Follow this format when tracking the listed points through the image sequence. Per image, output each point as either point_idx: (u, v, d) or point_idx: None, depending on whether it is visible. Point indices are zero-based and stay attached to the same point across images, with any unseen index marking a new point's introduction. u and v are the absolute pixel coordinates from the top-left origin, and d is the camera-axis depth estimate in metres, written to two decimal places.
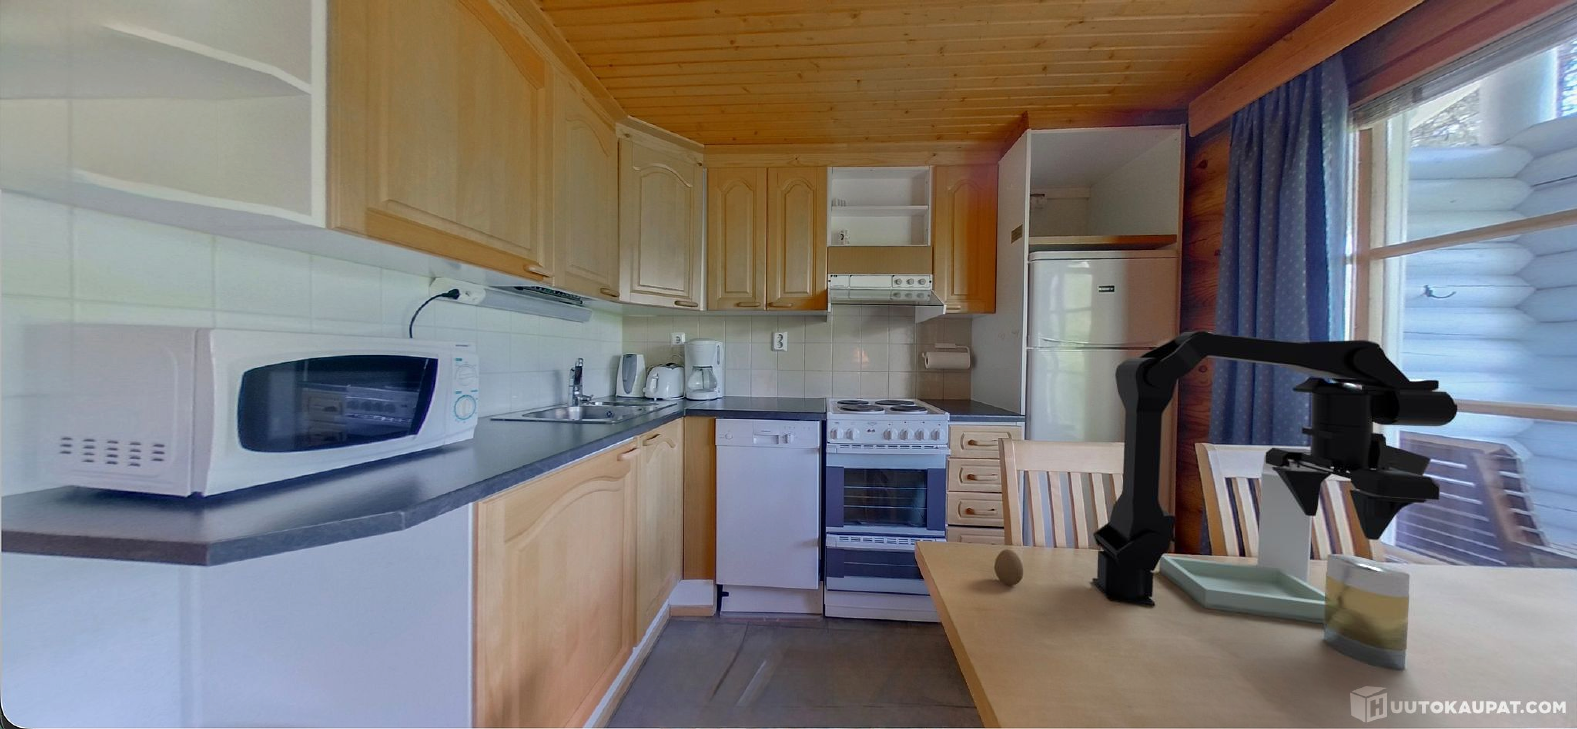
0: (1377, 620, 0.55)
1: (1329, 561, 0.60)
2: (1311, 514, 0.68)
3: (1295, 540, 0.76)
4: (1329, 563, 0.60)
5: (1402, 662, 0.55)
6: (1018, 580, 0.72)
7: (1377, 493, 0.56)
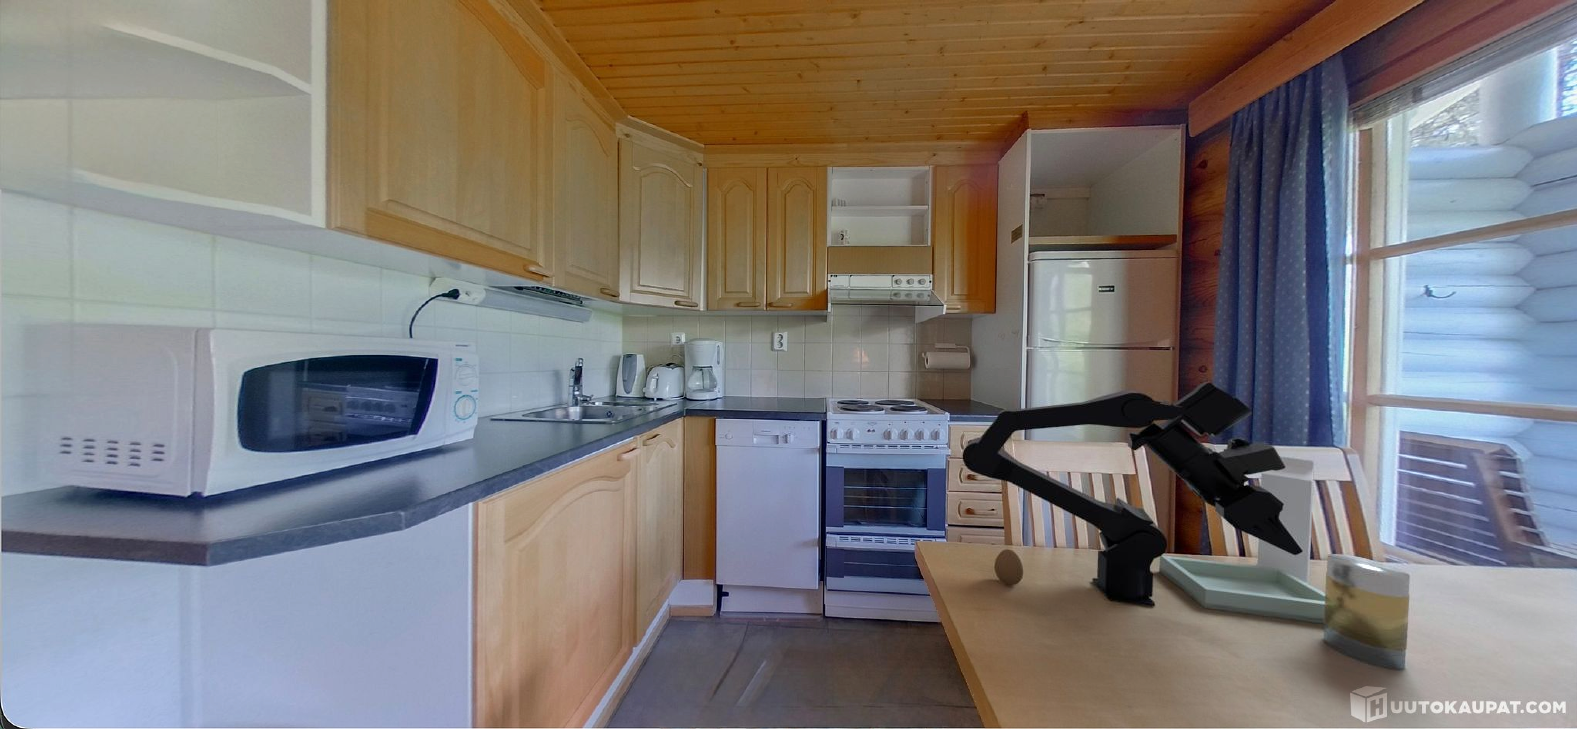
0: (1377, 620, 0.55)
1: (1329, 561, 0.60)
2: None
3: (1295, 540, 0.76)
4: (1329, 563, 0.60)
5: (1402, 662, 0.55)
6: (1018, 580, 0.72)
7: (1235, 527, 0.58)
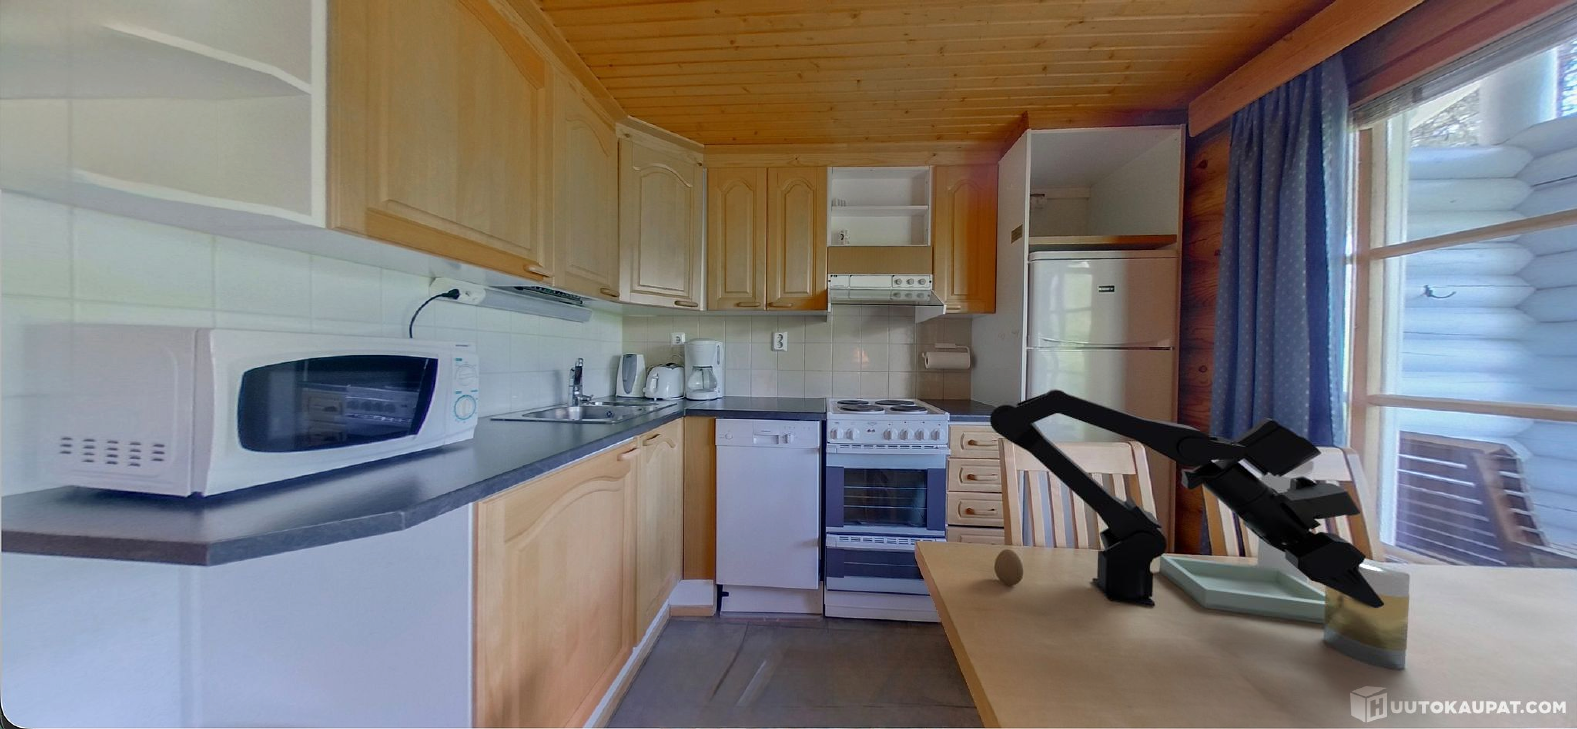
0: (1377, 620, 0.55)
1: None
2: None
3: None
4: None
5: (1402, 662, 0.55)
6: (1018, 580, 0.72)
7: (1311, 579, 0.54)
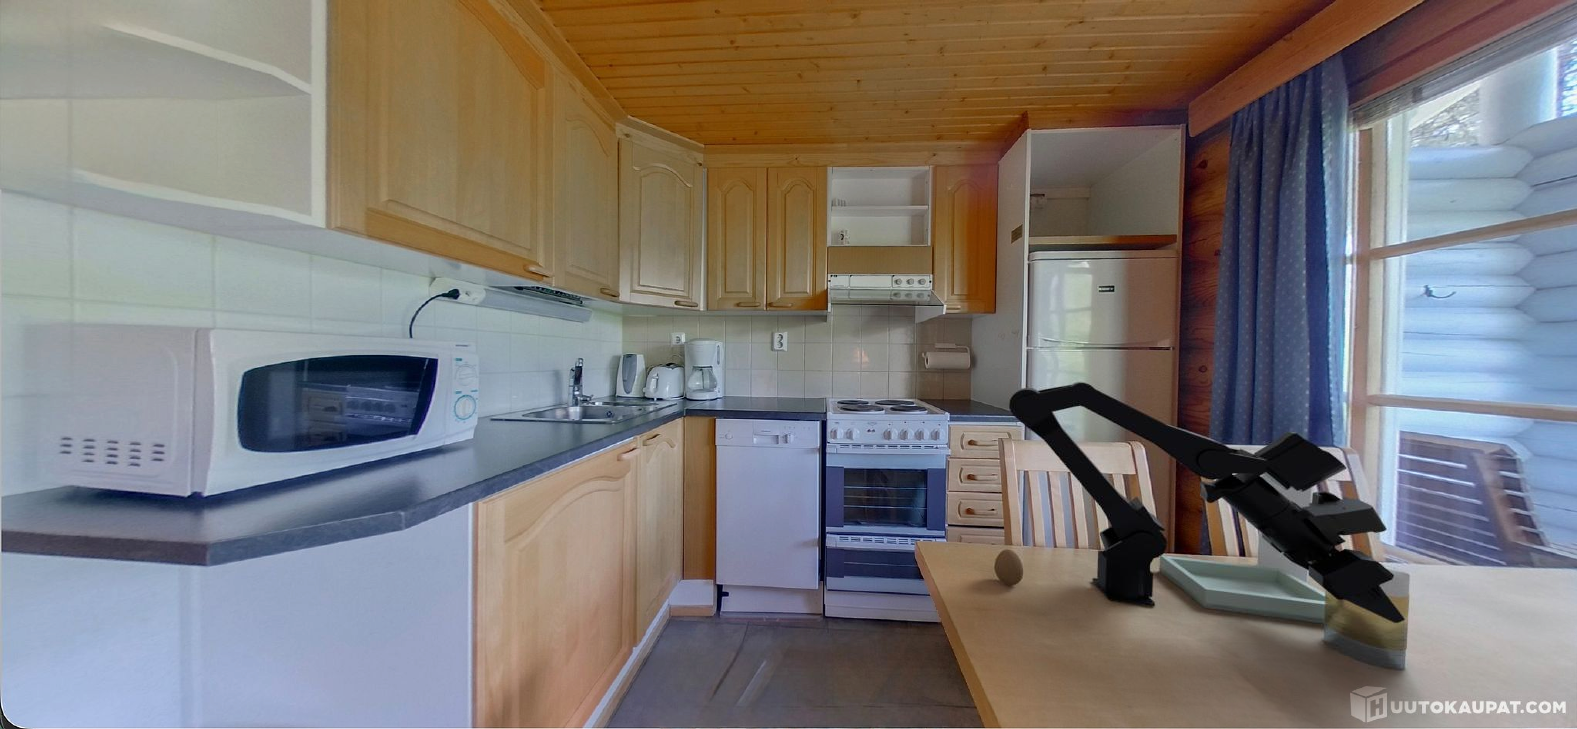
0: (1378, 619, 0.55)
1: None
2: None
3: None
4: None
5: (1402, 662, 0.55)
6: (1018, 580, 0.72)
7: (1336, 598, 0.53)
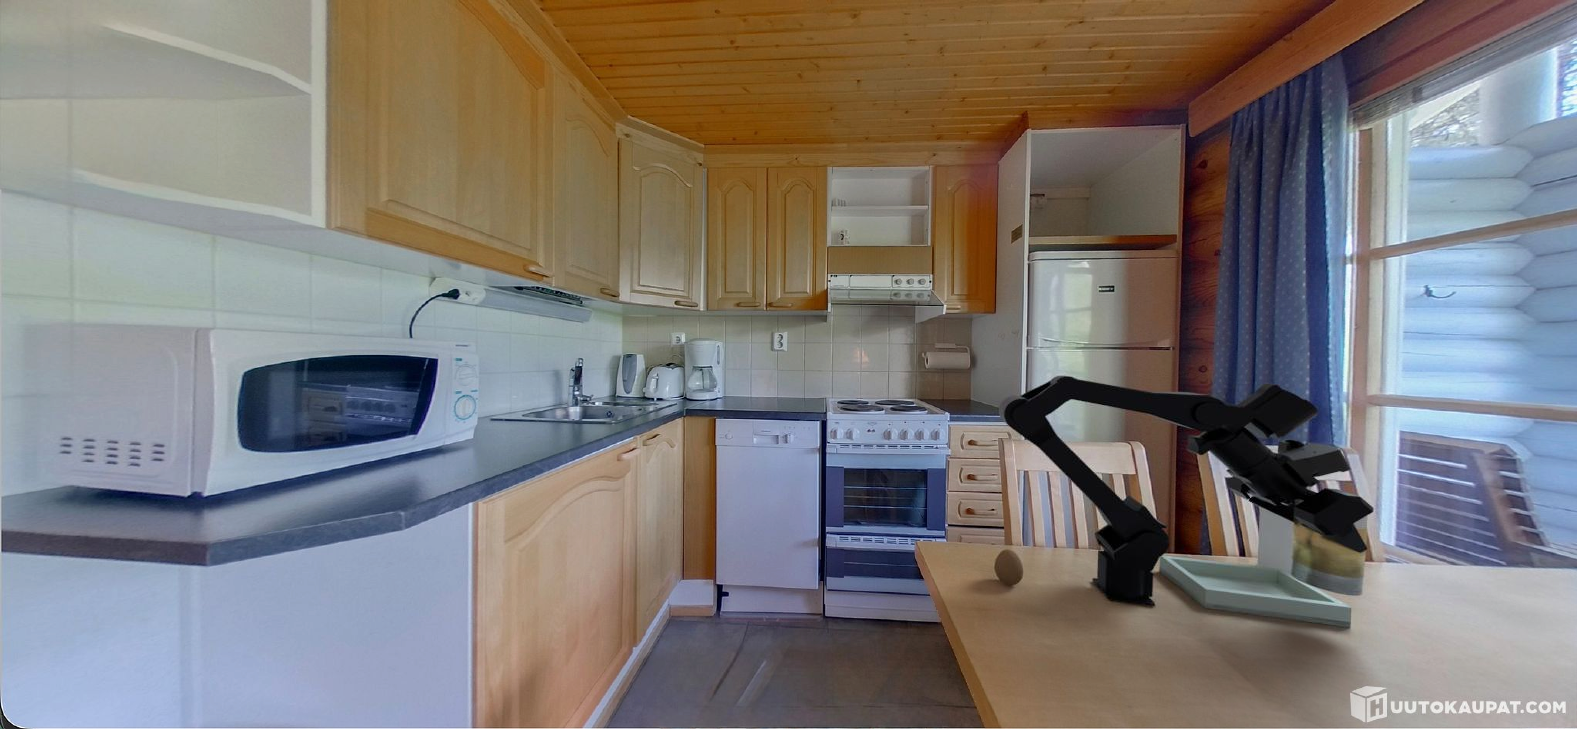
0: (1345, 551, 0.60)
1: None
2: None
3: None
4: None
5: (1362, 588, 0.60)
6: (1018, 580, 0.72)
7: (1325, 534, 0.56)
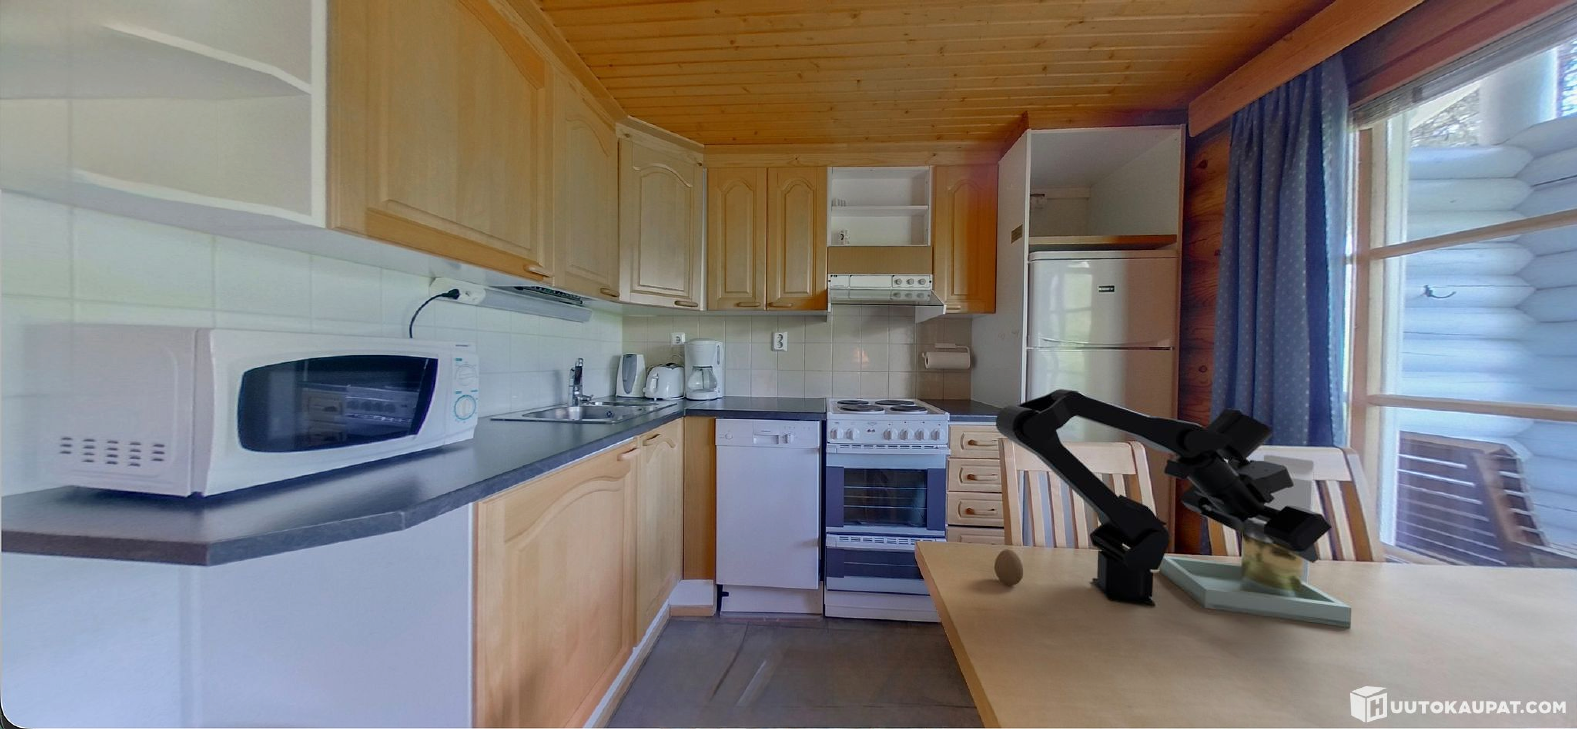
0: (1292, 568, 0.67)
1: (1251, 524, 0.70)
2: None
3: None
4: (1250, 526, 0.71)
5: (1300, 597, 0.68)
6: (1018, 580, 0.72)
7: (1297, 550, 0.62)
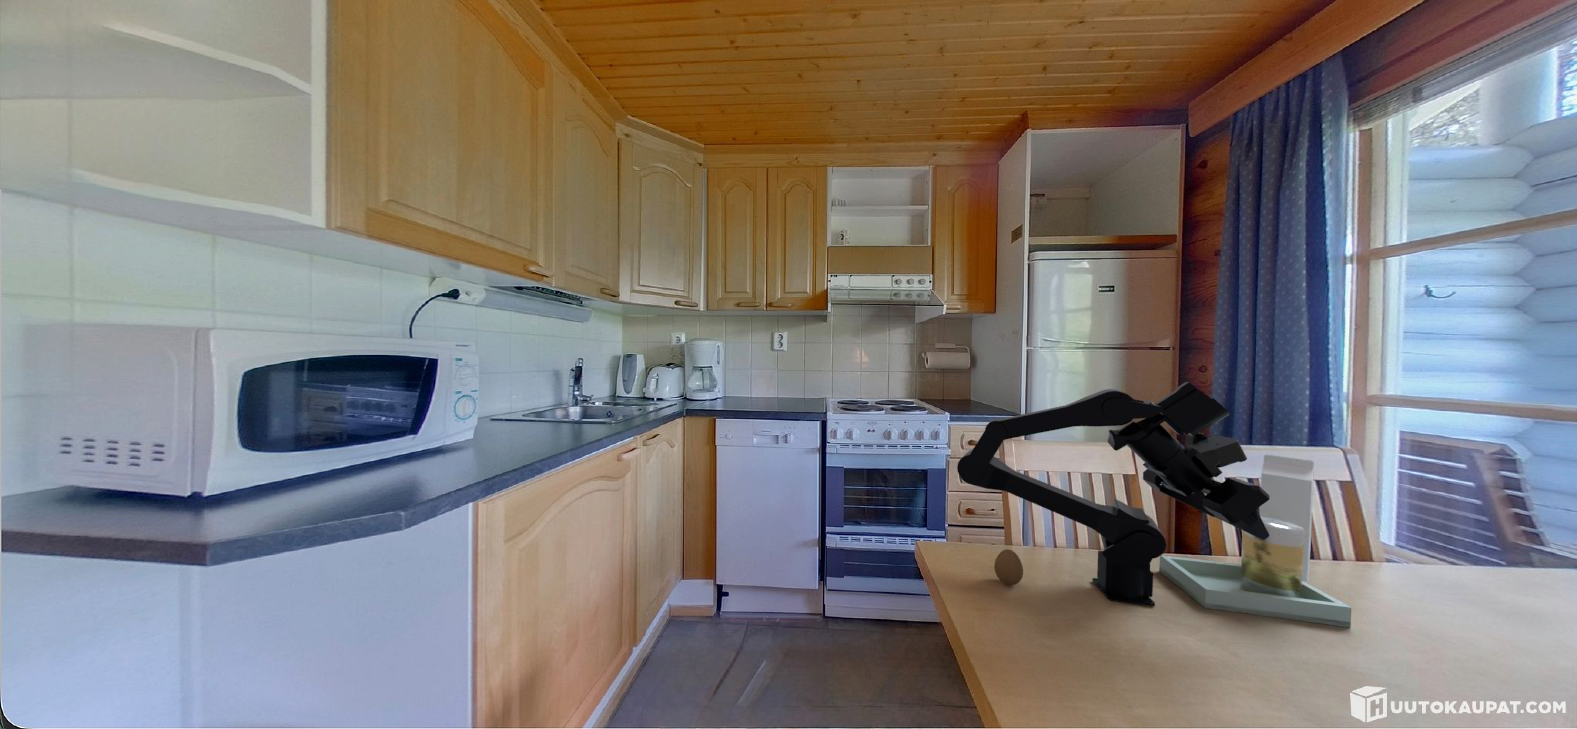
0: (1292, 568, 0.67)
1: None
2: None
3: None
4: None
5: (1300, 597, 0.68)
6: (1018, 580, 0.72)
7: (1230, 522, 0.60)
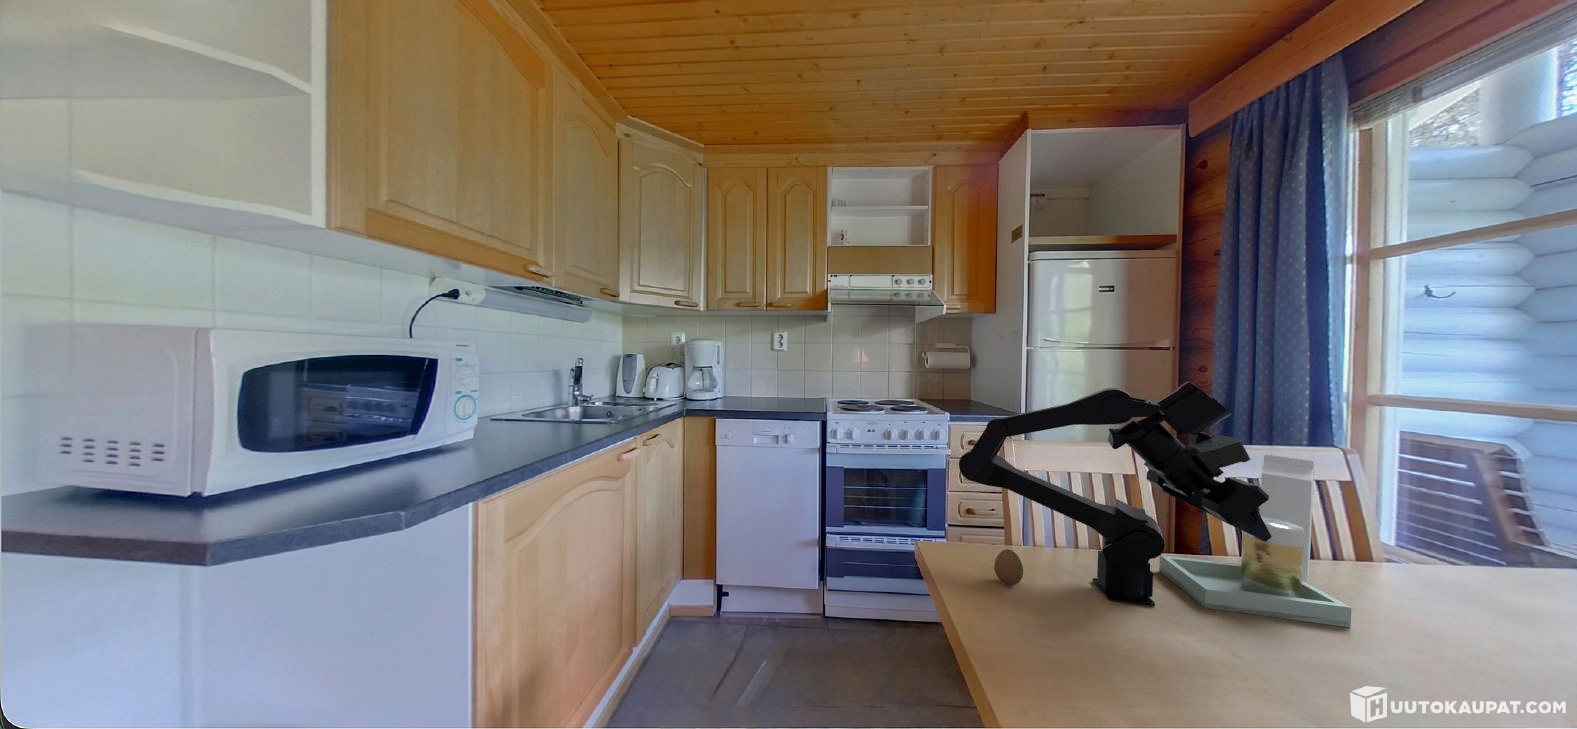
0: (1292, 568, 0.67)
1: None
2: None
3: None
4: None
5: (1300, 597, 0.68)
6: (1018, 580, 0.72)
7: (1228, 522, 0.59)
